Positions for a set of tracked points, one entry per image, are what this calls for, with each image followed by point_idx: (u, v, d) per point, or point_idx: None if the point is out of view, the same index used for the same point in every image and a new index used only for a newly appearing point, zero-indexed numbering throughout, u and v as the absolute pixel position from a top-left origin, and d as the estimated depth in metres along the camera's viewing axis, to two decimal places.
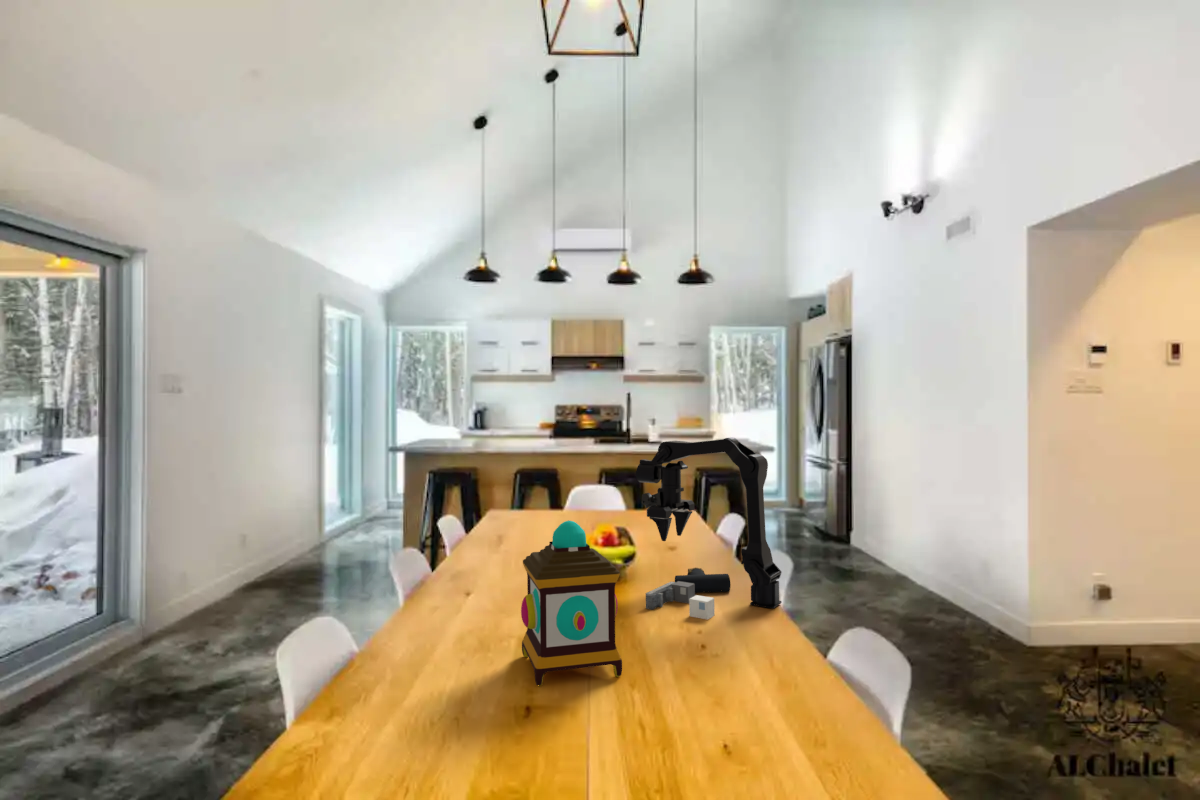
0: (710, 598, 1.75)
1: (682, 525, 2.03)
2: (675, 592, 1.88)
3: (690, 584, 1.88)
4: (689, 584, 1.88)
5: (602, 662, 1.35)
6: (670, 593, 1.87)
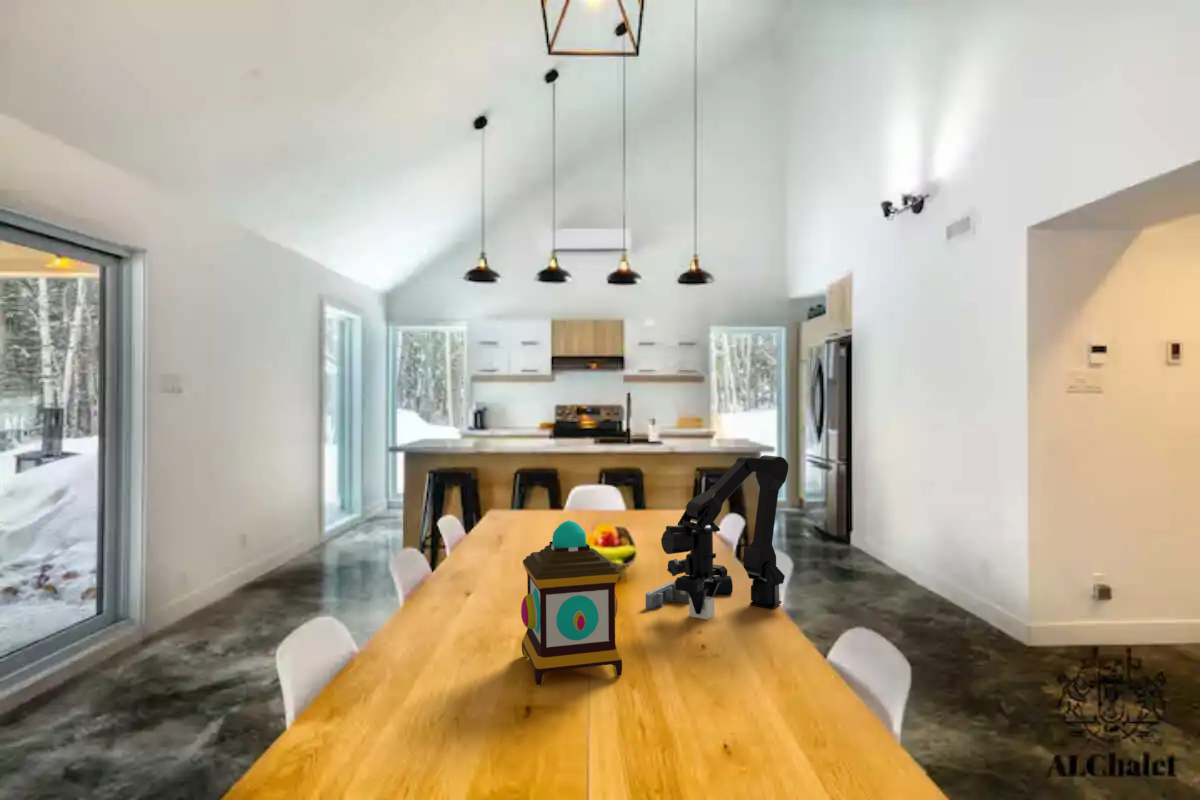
0: (710, 598, 1.75)
1: None
2: (675, 592, 1.88)
3: None
4: None
5: (602, 662, 1.35)
6: (670, 593, 1.87)
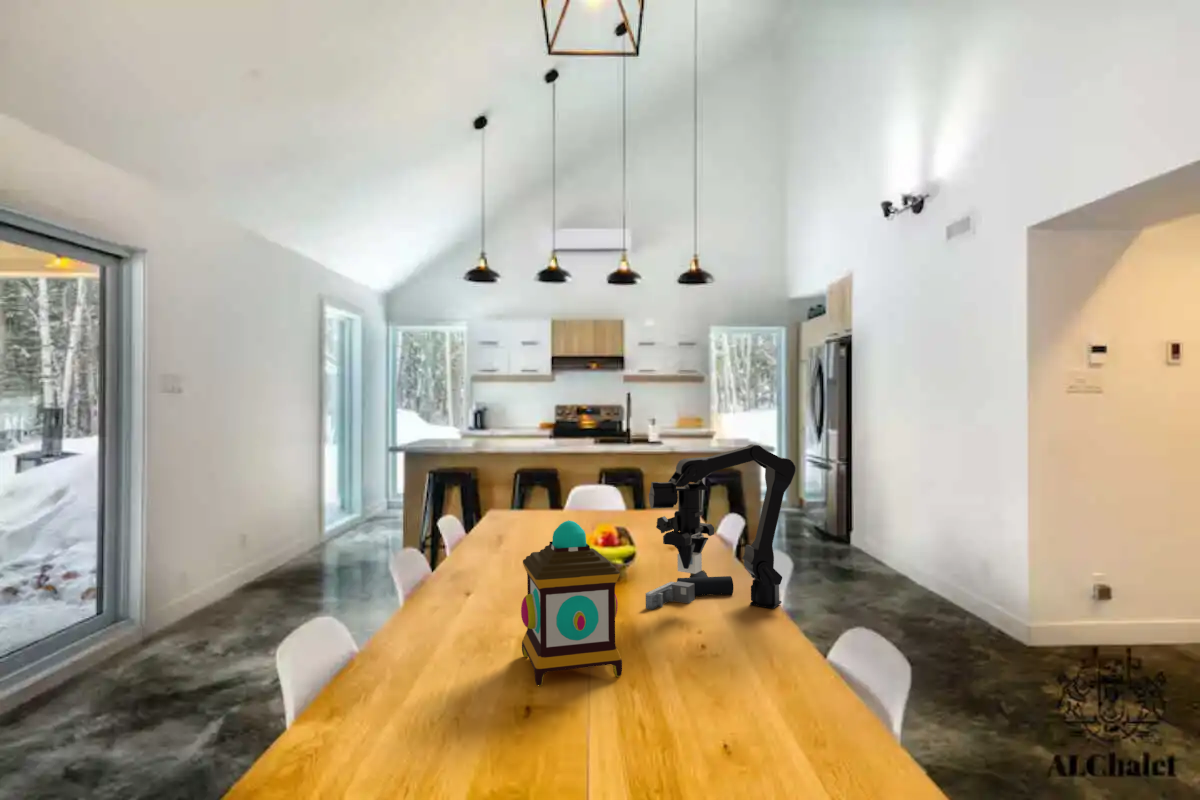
0: (697, 553, 1.81)
1: None
2: (675, 592, 1.88)
3: (690, 584, 1.88)
4: (689, 584, 1.88)
5: (602, 662, 1.35)
6: (670, 593, 1.87)
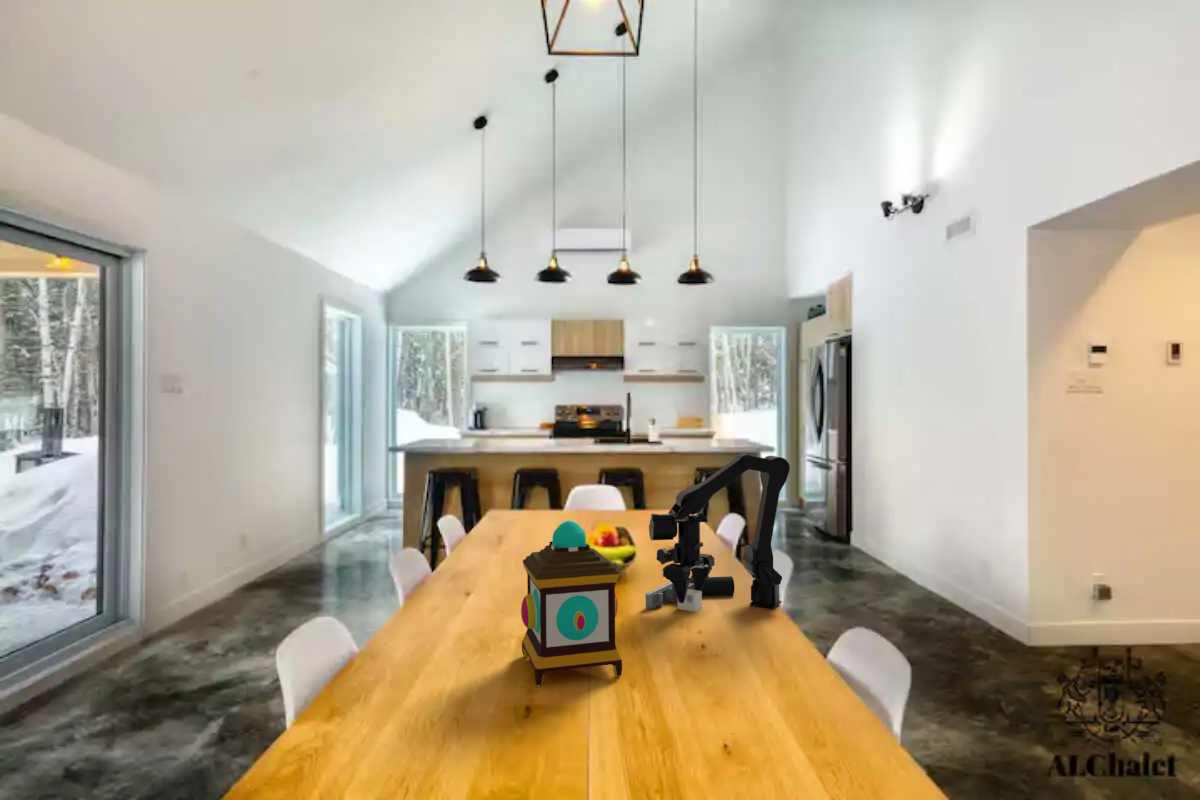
0: (698, 591, 1.81)
1: (701, 583, 1.84)
2: None
3: (690, 584, 1.88)
4: (689, 584, 1.88)
5: (602, 662, 1.35)
6: (670, 593, 1.87)
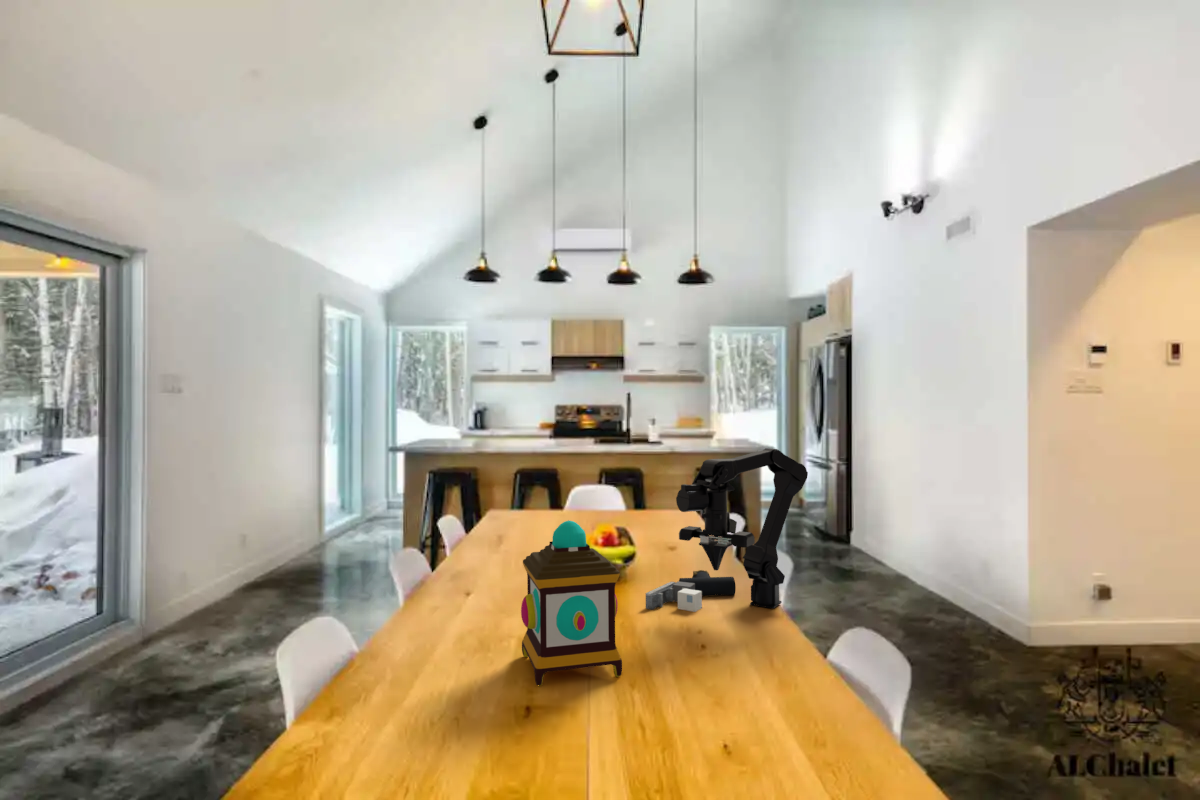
0: (698, 591, 1.81)
1: None
2: (676, 592, 1.87)
3: (691, 584, 1.88)
4: (690, 584, 1.88)
5: (602, 662, 1.35)
6: (670, 593, 1.87)
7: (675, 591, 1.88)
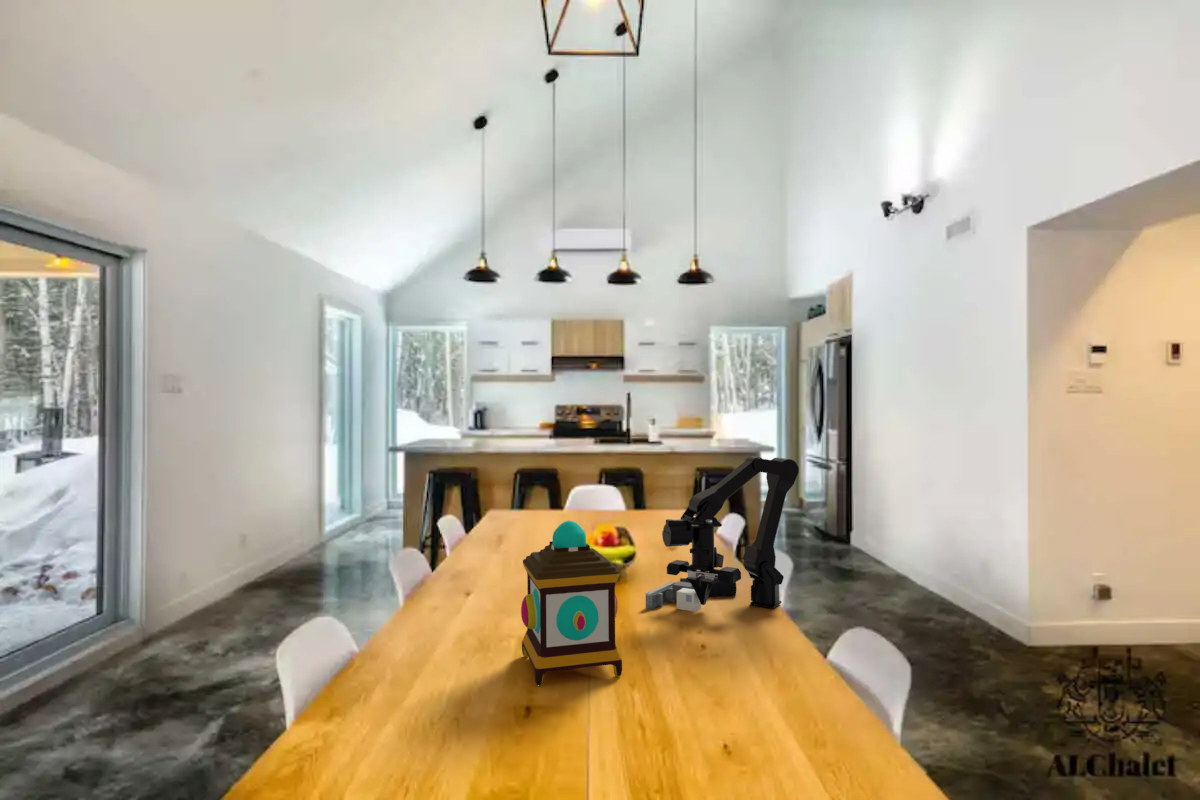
0: None
1: None
2: (676, 592, 1.87)
3: None
4: (690, 584, 1.88)
5: (602, 662, 1.35)
6: (670, 593, 1.87)
7: (675, 591, 1.88)
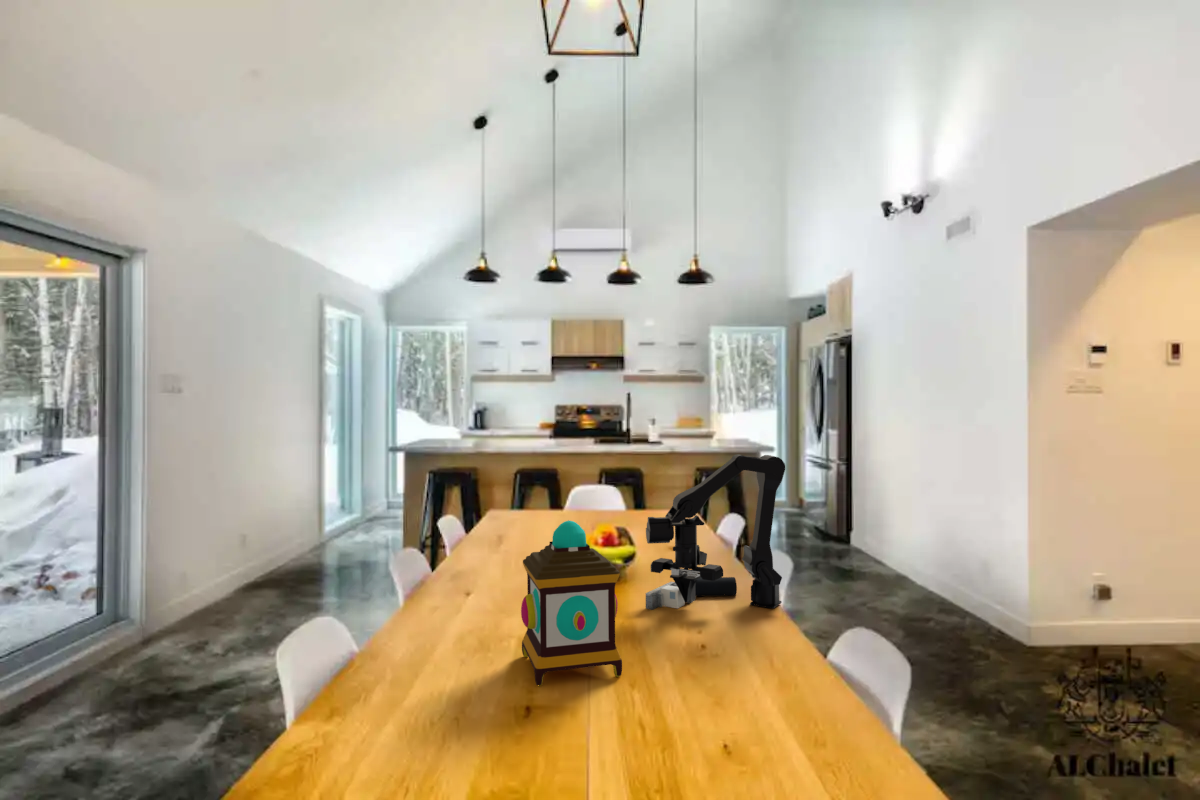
0: None
1: None
2: None
3: None
4: None
5: (602, 662, 1.35)
6: None
7: None
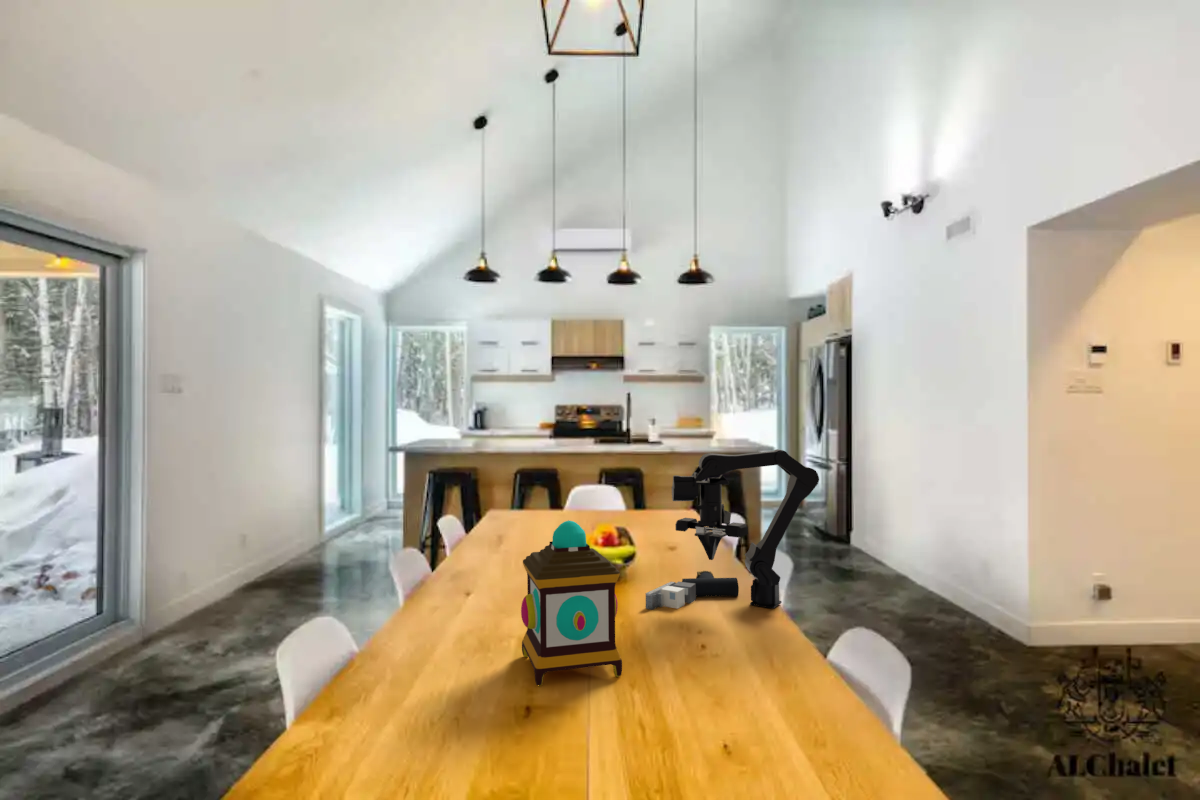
0: (680, 588, 1.84)
1: None
2: None
3: (691, 584, 1.88)
4: (690, 584, 1.88)
5: (602, 662, 1.35)
6: None
7: None
